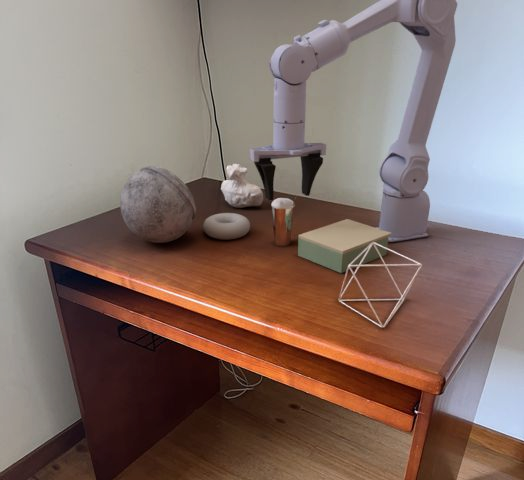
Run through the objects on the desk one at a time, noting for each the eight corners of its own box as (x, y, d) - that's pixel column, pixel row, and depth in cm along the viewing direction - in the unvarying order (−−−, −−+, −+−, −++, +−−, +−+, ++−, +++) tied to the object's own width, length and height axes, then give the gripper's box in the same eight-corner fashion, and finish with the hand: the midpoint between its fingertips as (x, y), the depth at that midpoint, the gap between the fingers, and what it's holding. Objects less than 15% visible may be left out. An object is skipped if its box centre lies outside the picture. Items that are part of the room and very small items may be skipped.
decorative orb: (211, 240, 114) (207, 165, 106) (156, 260, 105) (147, 180, 97) (165, 224, 122) (158, 154, 114) (111, 241, 113) (99, 167, 105)
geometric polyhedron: (382, 288, 94) (387, 237, 89) (428, 313, 86) (437, 259, 81) (323, 306, 88) (325, 253, 84) (367, 334, 80) (372, 277, 76)
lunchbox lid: (347, 221, 112) (347, 218, 112) (391, 235, 105) (391, 232, 105) (298, 237, 104) (298, 234, 104) (342, 254, 97) (342, 251, 97)
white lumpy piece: (221, 210, 137) (201, 180, 128) (235, 186, 139) (216, 155, 129) (260, 219, 131) (241, 189, 122) (274, 194, 133) (257, 162, 123)
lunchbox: (343, 239, 114) (344, 222, 112) (386, 254, 106) (388, 237, 104) (297, 255, 106) (298, 238, 104) (341, 273, 99) (342, 254, 97)
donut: (197, 240, 114) (244, 243, 112) (196, 224, 112) (243, 226, 110) (211, 225, 122) (254, 227, 120) (210, 209, 120) (254, 211, 118)
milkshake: (290, 249, 109) (291, 199, 104) (267, 244, 111) (267, 195, 106) (300, 242, 112) (302, 193, 107) (278, 237, 115) (279, 189, 109)
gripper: (259, 127, 93) (260, 206, 100) (335, 121, 97) (330, 197, 104) (245, 121, 98) (247, 196, 105) (317, 115, 103) (314, 188, 110)
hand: (287, 196), depth 105 cm, fingers open, 7 cm apart
